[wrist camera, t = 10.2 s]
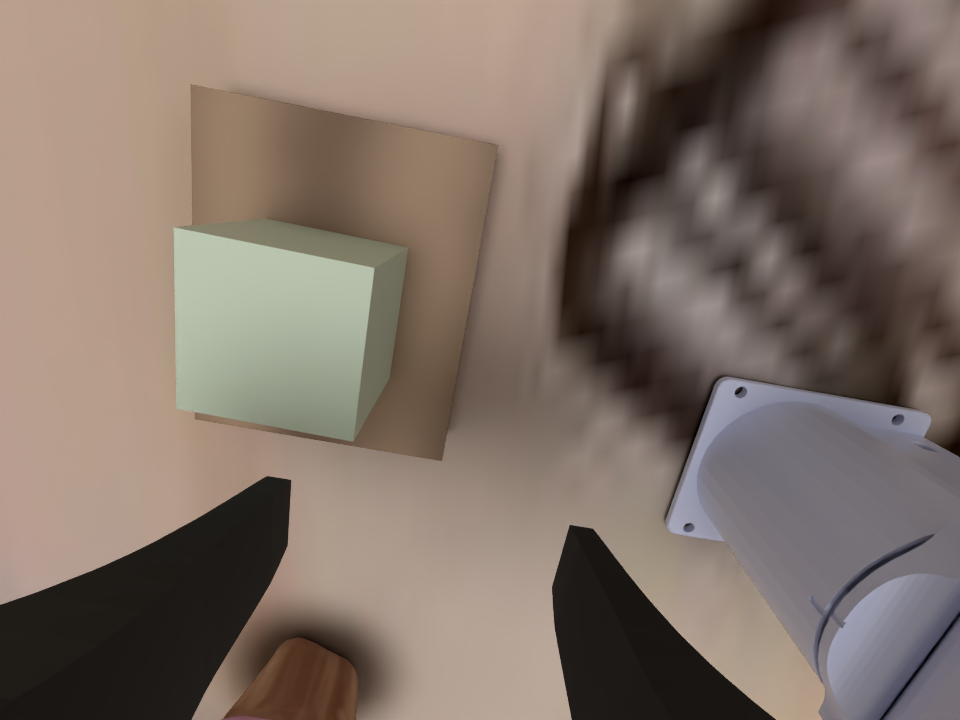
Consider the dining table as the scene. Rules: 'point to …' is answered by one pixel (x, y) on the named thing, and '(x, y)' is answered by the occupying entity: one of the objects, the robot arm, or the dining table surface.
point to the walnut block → (360, 230)
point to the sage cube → (284, 324)
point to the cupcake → (300, 686)
